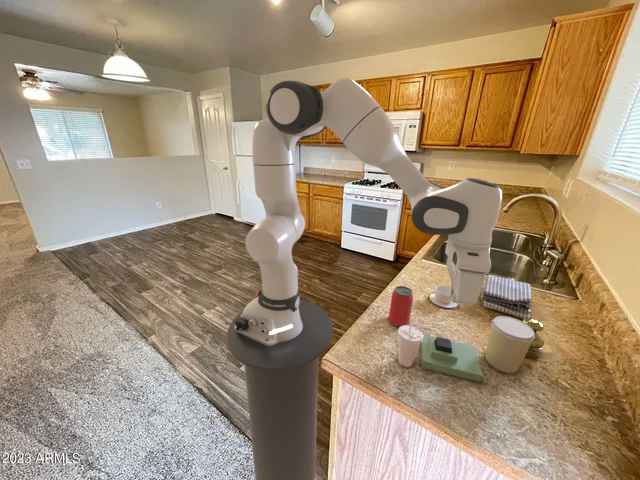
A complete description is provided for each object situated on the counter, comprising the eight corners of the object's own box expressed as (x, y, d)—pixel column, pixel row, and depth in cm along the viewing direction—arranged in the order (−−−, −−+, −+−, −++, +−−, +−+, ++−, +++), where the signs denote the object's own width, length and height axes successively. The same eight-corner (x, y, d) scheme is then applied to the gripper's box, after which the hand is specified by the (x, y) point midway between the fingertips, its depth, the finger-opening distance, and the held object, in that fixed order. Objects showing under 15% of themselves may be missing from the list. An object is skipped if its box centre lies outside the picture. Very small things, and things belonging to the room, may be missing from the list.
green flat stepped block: (422, 367, 70) (424, 356, 69) (420, 340, 80) (422, 329, 79) (481, 382, 67) (485, 370, 65) (471, 351, 76) (475, 340, 75)
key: (436, 350, 72) (437, 345, 71) (435, 341, 75) (436, 336, 74) (450, 353, 71) (452, 348, 70) (449, 344, 74) (450, 339, 73)
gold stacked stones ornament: (541, 349, 78) (552, 321, 75) (536, 362, 73) (548, 333, 70) (511, 336, 83) (521, 309, 79) (505, 348, 78) (515, 320, 75)
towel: (526, 298, 104) (532, 280, 101) (529, 322, 90) (536, 303, 87) (482, 286, 112) (487, 269, 109) (478, 306, 98) (483, 288, 95)
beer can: (406, 330, 84) (411, 298, 80) (385, 323, 87) (390, 292, 83) (410, 319, 90) (416, 288, 85) (391, 313, 93) (395, 283, 88)
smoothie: (409, 351, 76) (417, 310, 71) (422, 368, 70) (431, 325, 65) (389, 354, 75) (395, 312, 70) (400, 372, 69) (408, 328, 64)
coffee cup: (511, 352, 77) (524, 318, 72) (528, 378, 68) (544, 341, 64) (477, 346, 78) (487, 312, 74) (489, 372, 70) (501, 335, 65)
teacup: (433, 307, 96) (435, 296, 95) (426, 292, 106) (428, 282, 104) (461, 310, 95) (464, 299, 94) (452, 295, 105) (454, 284, 103)
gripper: (446, 234, 72) (437, 278, 77) (459, 264, 54) (446, 320, 59) (472, 237, 71) (461, 282, 76) (493, 269, 52) (477, 326, 57)
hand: (454, 299), depth 67 cm, fingers closed
